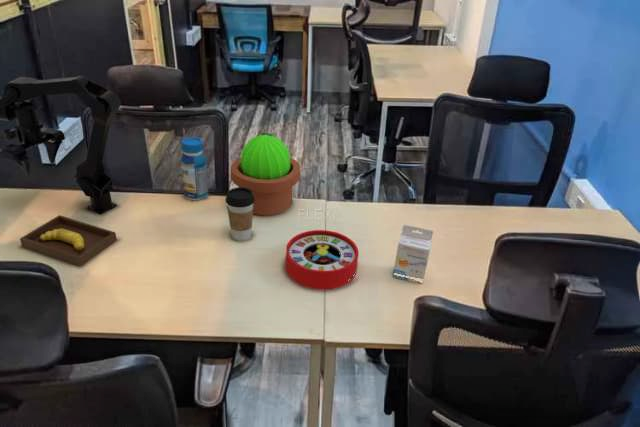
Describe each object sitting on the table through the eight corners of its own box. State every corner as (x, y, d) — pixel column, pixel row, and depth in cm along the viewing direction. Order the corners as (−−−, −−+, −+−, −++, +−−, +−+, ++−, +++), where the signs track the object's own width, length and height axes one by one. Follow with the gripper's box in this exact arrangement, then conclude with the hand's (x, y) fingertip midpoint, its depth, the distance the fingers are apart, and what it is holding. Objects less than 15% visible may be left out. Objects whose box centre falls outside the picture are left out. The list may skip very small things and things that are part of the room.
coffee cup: (222, 238, 152) (219, 195, 144) (236, 225, 159) (234, 182, 151) (246, 246, 150) (245, 202, 142) (260, 231, 156) (259, 189, 149)
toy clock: (312, 222, 152) (371, 245, 143) (311, 238, 155) (369, 262, 146) (271, 254, 137) (334, 282, 128) (271, 271, 140) (332, 299, 131)
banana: (94, 245, 145) (92, 235, 143) (80, 255, 141) (77, 245, 139) (53, 231, 150) (51, 222, 148) (38, 241, 145) (35, 231, 143)
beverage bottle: (210, 200, 171) (206, 145, 161) (184, 202, 169) (178, 146, 159) (208, 188, 178) (204, 134, 168) (183, 189, 176) (178, 136, 166)
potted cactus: (275, 227, 159) (276, 154, 146) (219, 207, 167) (215, 136, 154) (309, 198, 176) (313, 130, 163) (257, 181, 184) (256, 116, 171)
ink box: (392, 277, 140) (399, 233, 133) (395, 267, 145) (402, 223, 137) (422, 284, 138) (431, 240, 131) (425, 274, 143) (434, 230, 135)
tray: (117, 240, 149) (115, 232, 147) (80, 266, 137) (78, 258, 136) (61, 222, 155) (59, 214, 153) (22, 246, 144) (19, 238, 142)
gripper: (33, 107, 160) (44, 152, 168) (-21, 126, 145) (-6, 175, 153) (60, 113, 157) (71, 159, 165) (8, 134, 142) (22, 183, 150)
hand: (40, 168), depth 158 cm, fingers open, 9 cm apart
